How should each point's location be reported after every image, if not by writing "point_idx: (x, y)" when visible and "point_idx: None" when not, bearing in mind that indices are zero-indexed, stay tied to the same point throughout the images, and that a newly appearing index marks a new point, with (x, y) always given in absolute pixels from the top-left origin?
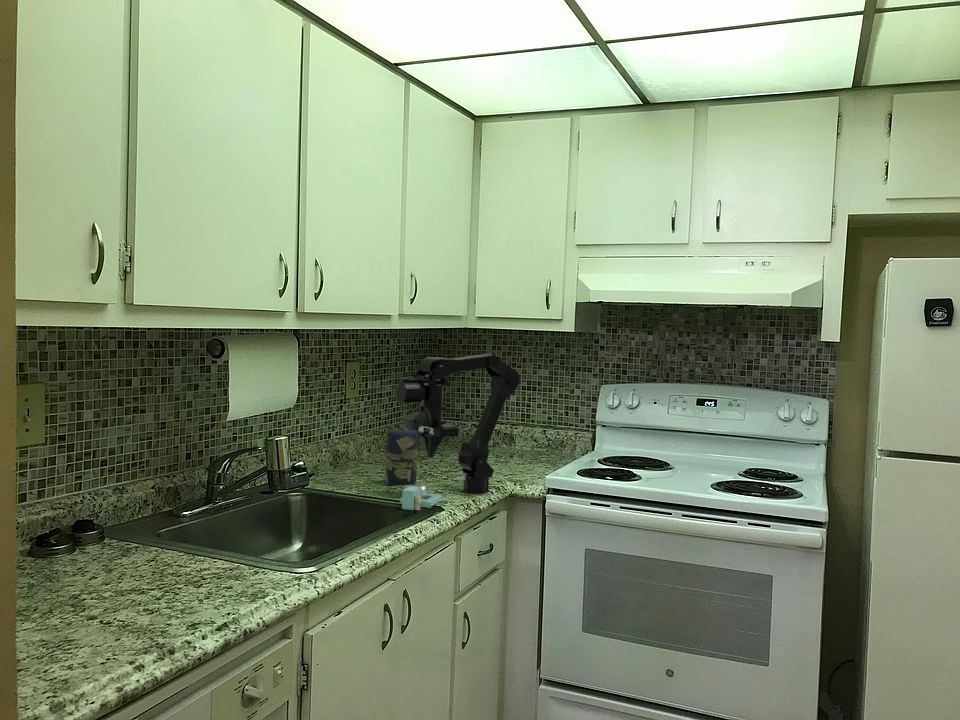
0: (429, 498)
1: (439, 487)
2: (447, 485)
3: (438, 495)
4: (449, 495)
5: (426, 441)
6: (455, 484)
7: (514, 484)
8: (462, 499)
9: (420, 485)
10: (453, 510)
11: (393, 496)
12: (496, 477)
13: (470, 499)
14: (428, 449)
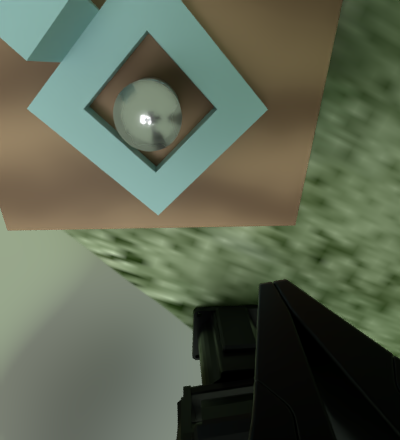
0: (110, 135)
1: (378, 275)
2: (384, 304)
3: (158, 198)
4: (268, 267)
5: (394, 437)
6: (379, 325)
7: None
8: (202, 283)
9: (167, 116)
10: None
11: (363, 48)
12: None
13: (194, 303)
14: (292, 337)
